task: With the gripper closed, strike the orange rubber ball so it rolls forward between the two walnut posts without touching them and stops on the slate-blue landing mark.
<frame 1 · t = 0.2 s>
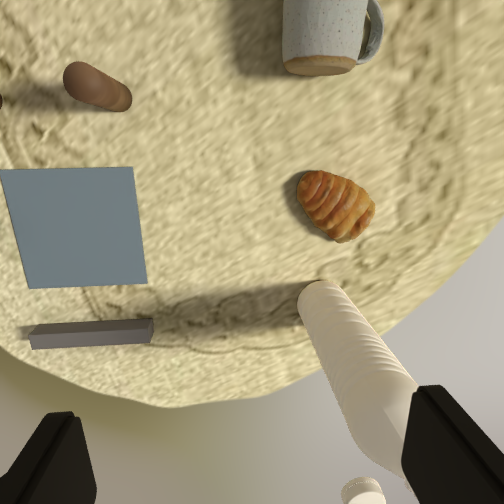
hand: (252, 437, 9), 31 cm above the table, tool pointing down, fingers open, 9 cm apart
landing mark: (79, 230, 38), on the table
post 2: (118, 97, 34), on the table
water bottle: (311, 302, 43), on the table
ceramic mug: (325, 32, 34), on the table
pastry: (331, 205, 40), on the table
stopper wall: (97, 328, 42), on the table
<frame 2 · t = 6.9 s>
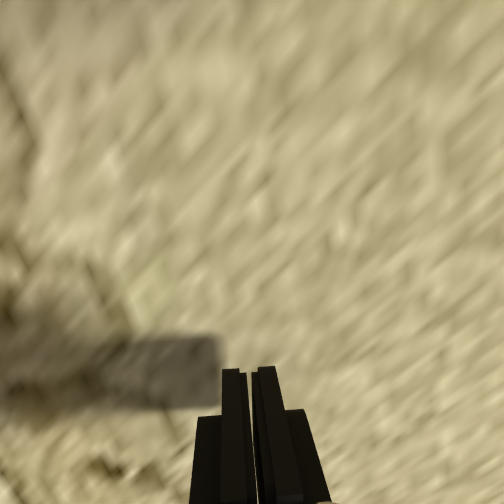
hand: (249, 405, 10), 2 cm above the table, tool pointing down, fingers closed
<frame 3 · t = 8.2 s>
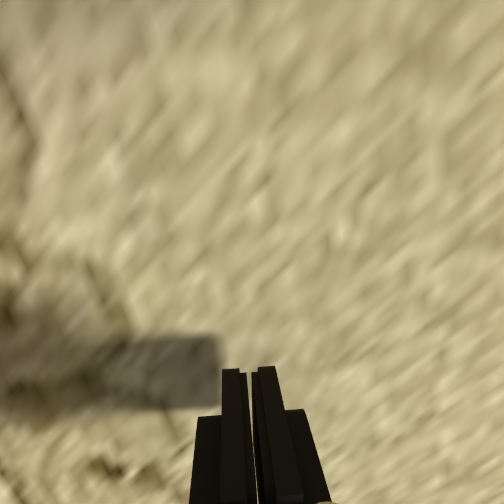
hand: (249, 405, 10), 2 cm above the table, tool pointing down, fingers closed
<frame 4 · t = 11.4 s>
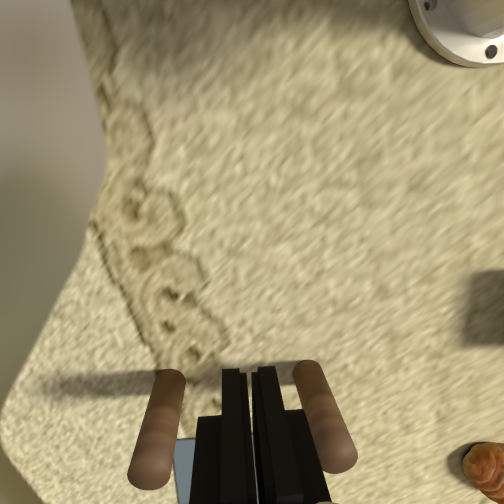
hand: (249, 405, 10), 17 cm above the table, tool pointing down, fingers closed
landing mark: (243, 484, 35), on the table
post 2: (307, 372, 31), on the table
pastry: (493, 462, 38), on the table
post 1: (170, 381, 30), on the table
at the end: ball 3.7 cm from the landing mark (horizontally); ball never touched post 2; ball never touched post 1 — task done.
